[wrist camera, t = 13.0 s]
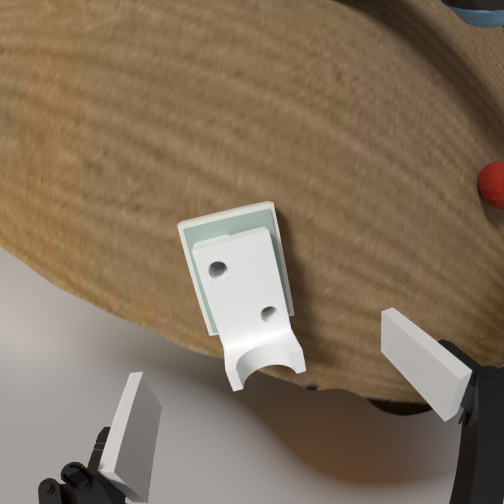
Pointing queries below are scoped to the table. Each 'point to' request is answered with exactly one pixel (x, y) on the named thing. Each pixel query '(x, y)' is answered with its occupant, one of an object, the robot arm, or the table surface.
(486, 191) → the apple
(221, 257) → the bracket
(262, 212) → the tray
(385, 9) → the table surface
